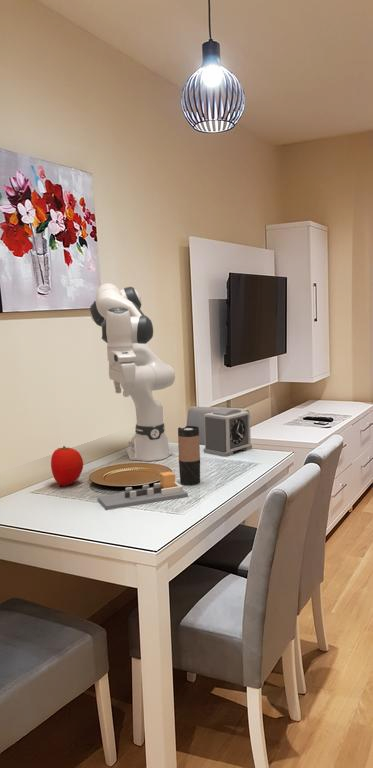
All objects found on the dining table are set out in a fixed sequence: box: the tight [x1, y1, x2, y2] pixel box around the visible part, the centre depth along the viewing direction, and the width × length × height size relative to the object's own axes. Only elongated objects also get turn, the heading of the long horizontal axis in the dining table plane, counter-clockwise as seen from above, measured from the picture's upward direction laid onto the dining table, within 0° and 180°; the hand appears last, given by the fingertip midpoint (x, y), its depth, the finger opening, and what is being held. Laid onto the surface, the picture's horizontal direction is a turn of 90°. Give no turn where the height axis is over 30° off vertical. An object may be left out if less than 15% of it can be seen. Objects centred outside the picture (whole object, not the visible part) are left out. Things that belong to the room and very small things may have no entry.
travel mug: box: [177, 425, 201, 486], centre depth 223 cm, size 8×8×20 cm
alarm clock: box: [203, 407, 253, 458], centre depth 268 cm, size 18×13×18 cm
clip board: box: [96, 480, 189, 511], centre depth 208 cm, size 11×28×4 cm, turn 113°
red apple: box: [50, 445, 84, 487], centre depth 226 cm, size 13×11×14 cm
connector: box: [123, 470, 176, 498], centre depth 208 cm, size 17×4×6 cm, turn 112°
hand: (122, 394), depth 217 cm, fingers open, 8 cm apart
